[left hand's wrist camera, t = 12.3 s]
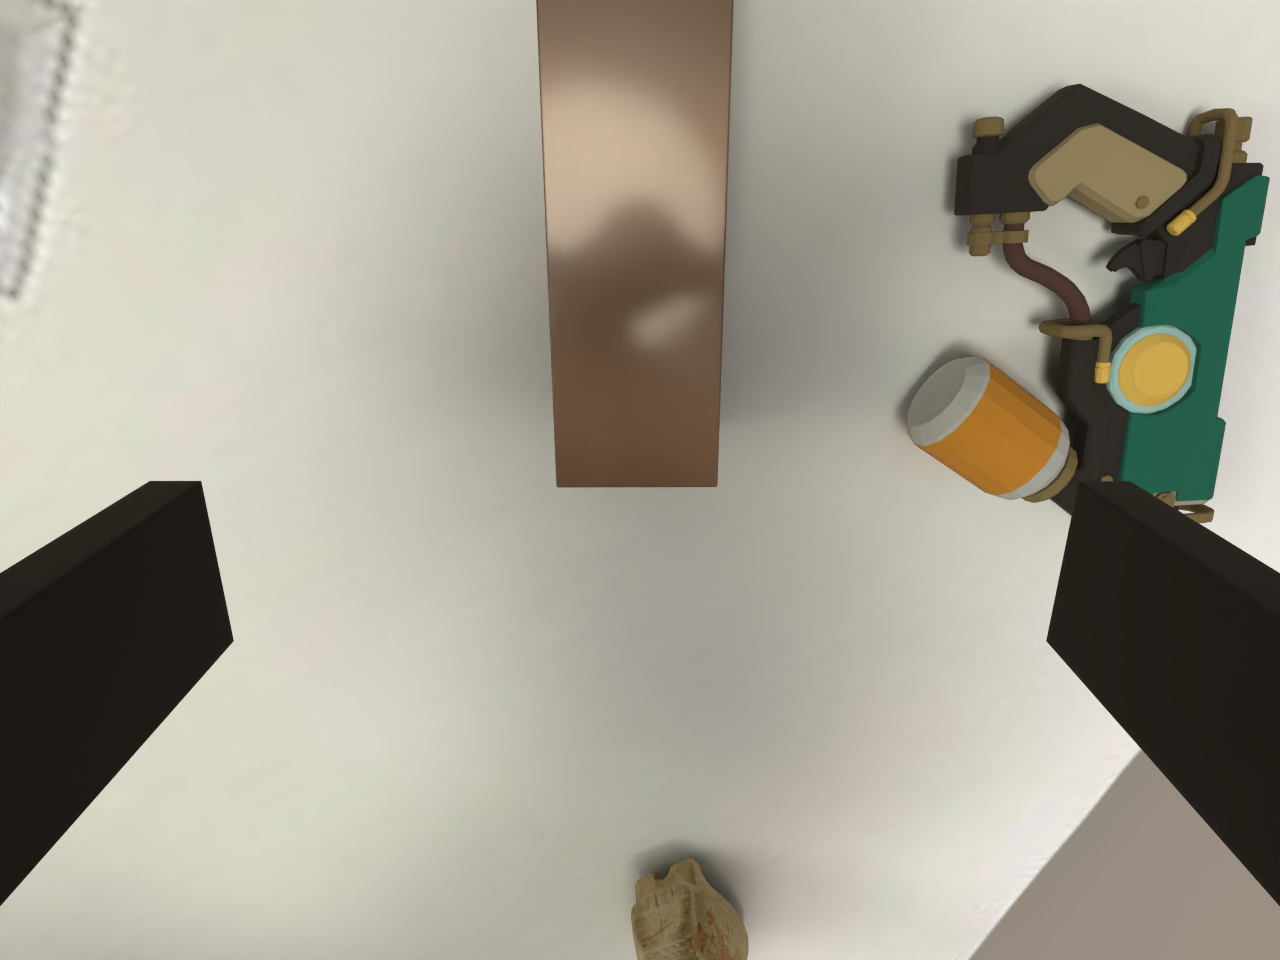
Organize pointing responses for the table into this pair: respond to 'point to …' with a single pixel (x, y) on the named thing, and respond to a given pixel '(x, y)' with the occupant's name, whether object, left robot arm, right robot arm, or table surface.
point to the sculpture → (685, 918)
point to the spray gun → (1128, 341)
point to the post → (635, 235)
